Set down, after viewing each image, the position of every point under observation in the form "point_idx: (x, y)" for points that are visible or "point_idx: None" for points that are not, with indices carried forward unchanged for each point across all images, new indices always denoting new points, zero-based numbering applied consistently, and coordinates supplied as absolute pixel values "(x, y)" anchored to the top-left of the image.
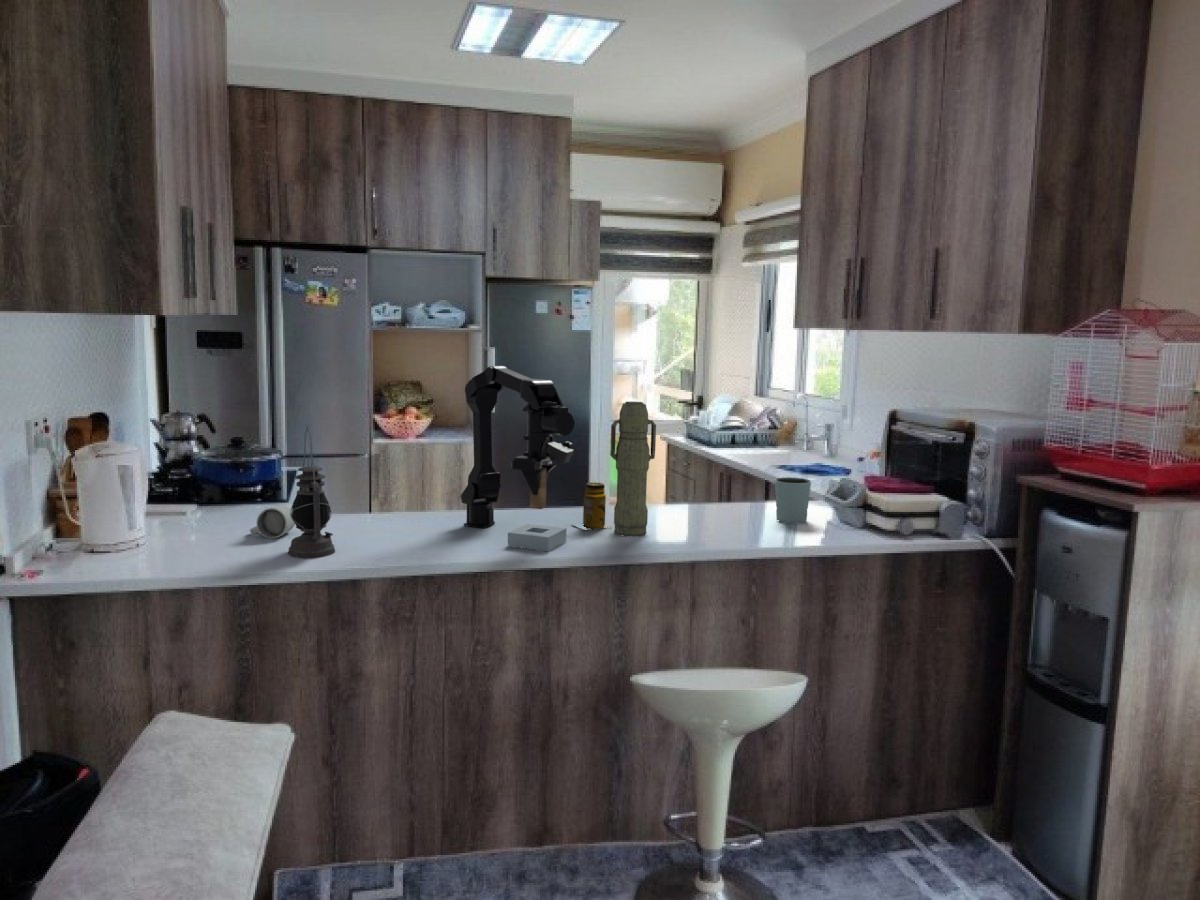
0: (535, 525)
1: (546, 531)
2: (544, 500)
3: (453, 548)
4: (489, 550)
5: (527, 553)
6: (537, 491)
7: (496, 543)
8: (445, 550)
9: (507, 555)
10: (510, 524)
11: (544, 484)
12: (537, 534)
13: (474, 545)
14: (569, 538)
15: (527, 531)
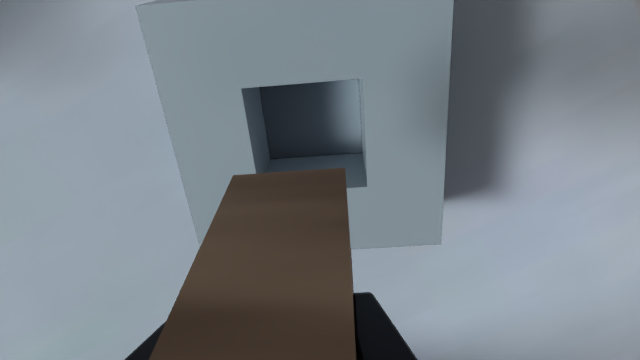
0: (208, 205)
1: (305, 76)
2: (257, 208)
3: (543, 344)
4: (526, 232)
5: (519, 56)
6: (375, 316)
7: (397, 264)
8: (582, 350)
9: (592, 123)
10: (87, 357)
11: (224, 356)
12: (410, 85)
13: (468, 311)
14: (92, 19)
15: (366, 173)
